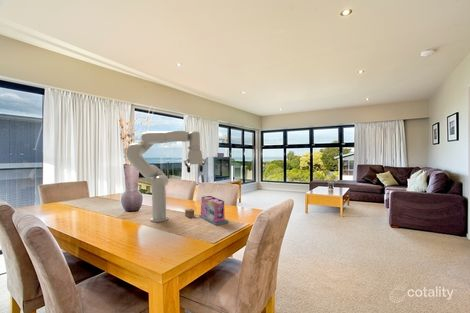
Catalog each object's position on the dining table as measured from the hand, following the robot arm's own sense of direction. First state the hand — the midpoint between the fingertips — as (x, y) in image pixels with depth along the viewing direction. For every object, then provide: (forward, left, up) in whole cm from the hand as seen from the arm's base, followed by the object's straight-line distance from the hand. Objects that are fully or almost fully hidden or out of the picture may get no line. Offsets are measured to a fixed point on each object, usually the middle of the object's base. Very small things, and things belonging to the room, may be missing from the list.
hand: (195, 172), depth 167 cm
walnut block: (-8, -1, -34) cm, 35 cm away
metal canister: (-9, +12, -34) cm, 37 cm away
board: (+10, +9, -34) cm, 37 cm away
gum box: (+10, +9, -33) cm, 35 cm away
